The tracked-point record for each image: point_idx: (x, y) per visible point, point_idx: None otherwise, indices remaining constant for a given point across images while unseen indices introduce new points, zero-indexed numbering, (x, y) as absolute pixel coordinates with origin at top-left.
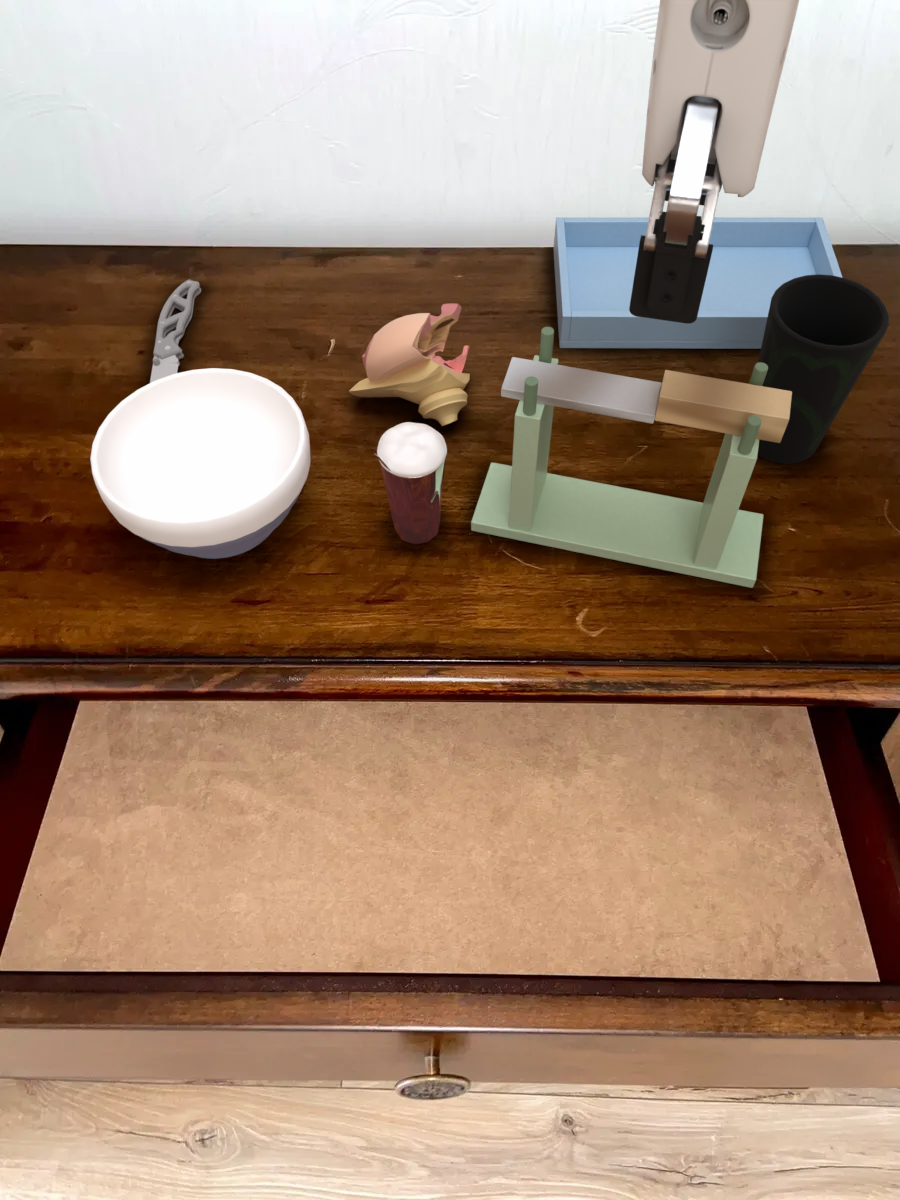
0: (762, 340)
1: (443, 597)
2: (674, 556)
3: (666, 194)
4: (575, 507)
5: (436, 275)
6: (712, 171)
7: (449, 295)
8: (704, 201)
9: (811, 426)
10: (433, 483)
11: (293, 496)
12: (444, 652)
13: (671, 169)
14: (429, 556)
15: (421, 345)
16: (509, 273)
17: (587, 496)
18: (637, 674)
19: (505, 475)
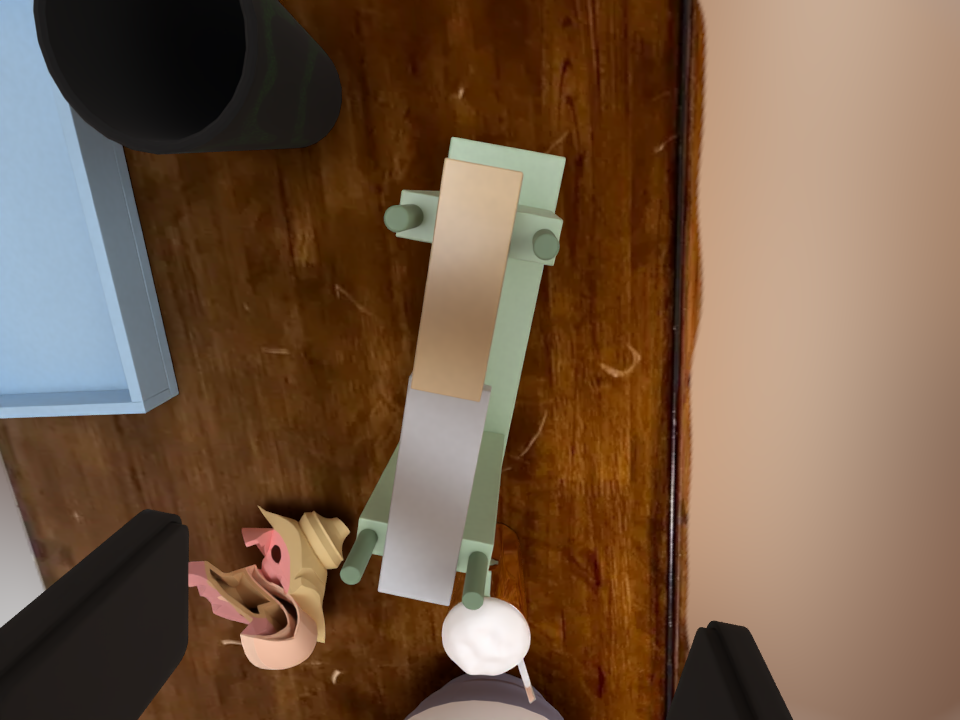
0: None
1: (589, 513)
2: (532, 264)
3: (176, 650)
4: None
5: (82, 541)
6: (109, 618)
7: (114, 525)
8: (180, 551)
9: (317, 58)
10: (516, 593)
11: (531, 716)
12: (661, 510)
13: (120, 716)
14: (534, 529)
15: (272, 610)
16: (52, 456)
17: None
18: (693, 309)
19: None
